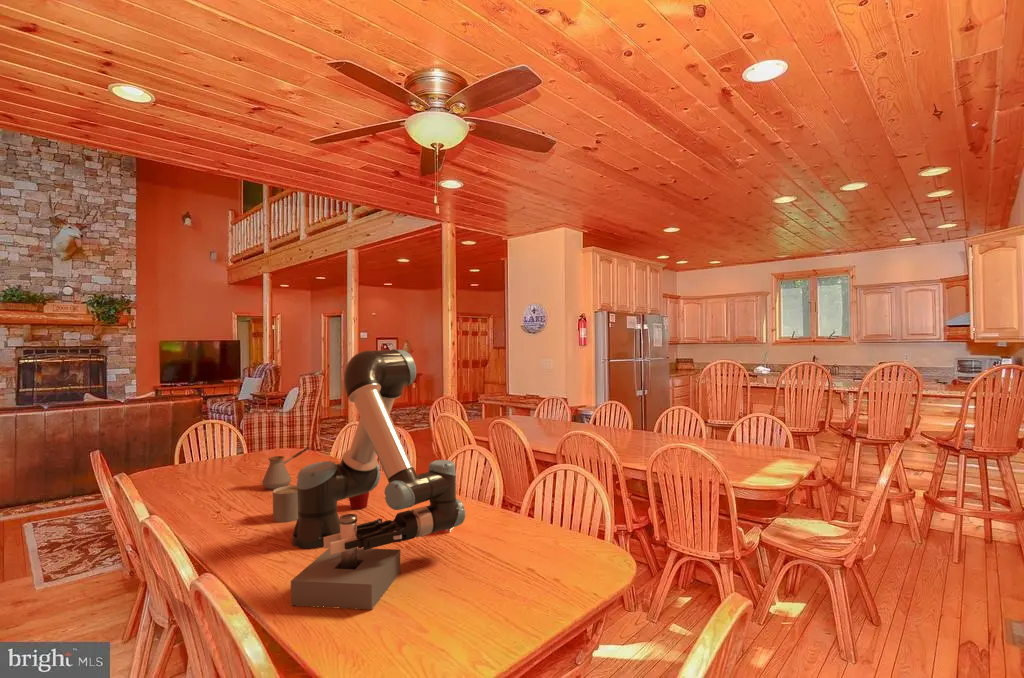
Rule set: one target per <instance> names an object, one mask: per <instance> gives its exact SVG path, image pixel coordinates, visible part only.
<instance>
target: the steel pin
mask: <svg viewBox="0 0 1024 678" xmlns="http://www.w3.org/2000/svg"><path fill="white" fill-rule="evenodd" d="M339 519H340V539H341V540H343V539H346V538H351V537H354V536H356V537H357V525H358V515H357V514H355V513H347V514H342V515H340V516H339ZM357 548H358V547H357ZM357 548H354V549H350V550H347V551H343V552H341V569H356V568H357Z"/></svg>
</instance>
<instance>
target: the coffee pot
mask: <svg viewBox="0 0 1024 678" xmlns="http://www.w3.org/2000/svg"><path fill="white" fill-rule="evenodd" d="M307 450H308V451H309V450H312V449H311V447H310V446H308V447H306V448H303V450H301V451H298V452H297V453H296V454H294V455H293V456H291V457H290V458H288V459H286V460H285V461H284V459H285V456H282V455H278V456H271V457H268V461H269V465H268V467H267V470H266V472H265V474H264V477H263V479H262V482H261V484H262V486H263V487H264V488H265V489H267V490H270V491H273V490H275V489H277V488H280V487H285V486H289V485H290V483H291V481H292V478H291V475H290V473H289V471H288V469H287V468H286V466H285V465H286V463H289V462H290V461H292V460H293V459H296V458H297V457H299V456H300V455H302V454H303V453H305V452H307Z"/></svg>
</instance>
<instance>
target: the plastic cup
mask: <svg viewBox="0 0 1024 678" xmlns="http://www.w3.org/2000/svg"><path fill="white" fill-rule="evenodd" d="M369 496H370V491H369V492H367V493H365V494H362V495H357V496H354V497H350V498H348V501H349V505H350V509H352V510H356V511H359V510H363V509H366V508H367V507H368V502H369Z"/></svg>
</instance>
